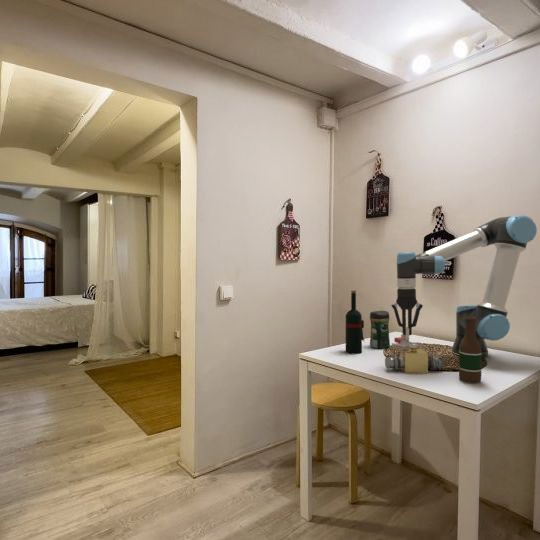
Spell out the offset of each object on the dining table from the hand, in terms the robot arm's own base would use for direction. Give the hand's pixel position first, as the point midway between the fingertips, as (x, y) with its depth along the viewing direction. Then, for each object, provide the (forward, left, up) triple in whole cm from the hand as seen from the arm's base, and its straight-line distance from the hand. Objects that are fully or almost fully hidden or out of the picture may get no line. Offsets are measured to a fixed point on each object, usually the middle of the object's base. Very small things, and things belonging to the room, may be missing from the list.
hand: (407, 342), depth 164 cm
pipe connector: (+2, -13, -10) cm, 17 cm away
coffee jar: (+14, -26, -10) cm, 32 cm away
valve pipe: (-3, +8, -9) cm, 13 cm away
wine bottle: (+24, -13, -10) cm, 29 cm away
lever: (0, +4, 0) cm, 4 cm away
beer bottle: (-23, +14, -10) cm, 28 cm away
